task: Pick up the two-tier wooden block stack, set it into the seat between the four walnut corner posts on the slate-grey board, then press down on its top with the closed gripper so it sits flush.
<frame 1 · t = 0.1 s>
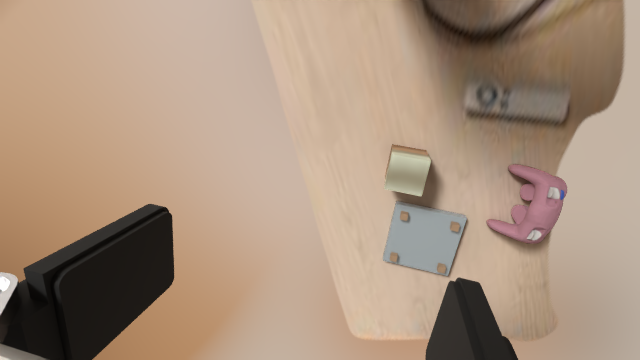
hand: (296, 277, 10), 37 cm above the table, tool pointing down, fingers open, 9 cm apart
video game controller: (516, 197, 43), on the table
block stack: (405, 163, 45), on the table
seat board: (421, 236, 48), on the table
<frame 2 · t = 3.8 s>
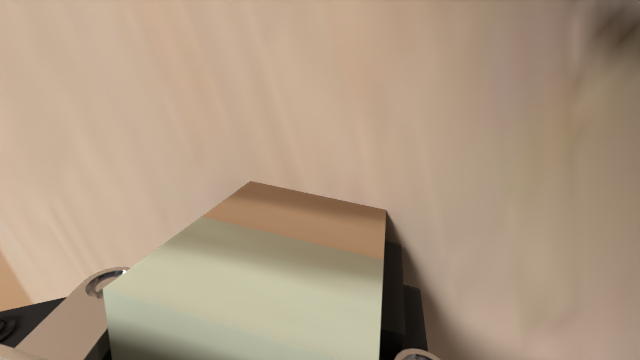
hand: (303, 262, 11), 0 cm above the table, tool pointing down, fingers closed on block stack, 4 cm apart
block stack: (307, 254, 11), on the table, touching gripper
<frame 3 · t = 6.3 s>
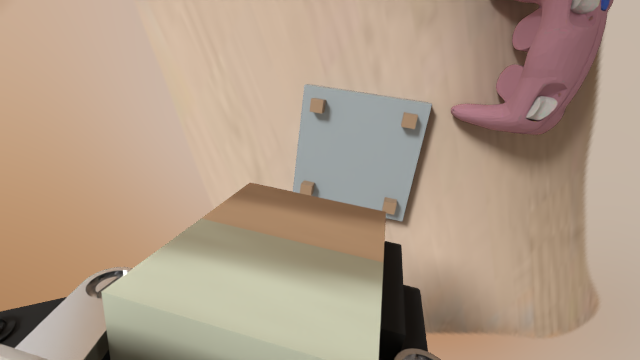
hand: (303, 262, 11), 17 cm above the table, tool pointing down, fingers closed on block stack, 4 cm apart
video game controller: (506, 58, 22), on the table
block stack: (307, 256, 11), point 17 cm above the table, touching gripper
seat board: (356, 152, 27), on the table
when the fingers open (3 cm above the table, at t = 9.2 s): block stack drops 1 cm, resting on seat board.
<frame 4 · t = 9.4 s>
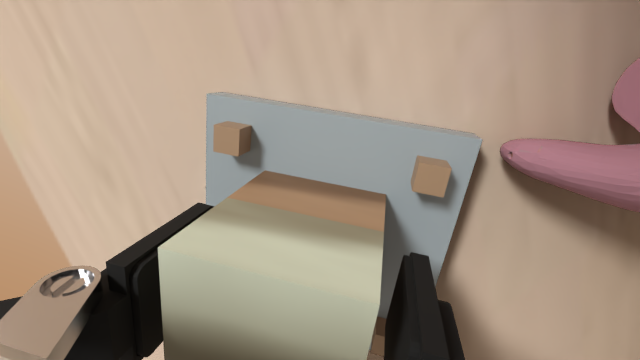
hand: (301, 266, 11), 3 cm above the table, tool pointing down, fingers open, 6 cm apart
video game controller: (636, 31, 10), on the table
block stack: (315, 236, 13), point 1 cm above the table, touching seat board
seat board: (322, 224, 14), on the table
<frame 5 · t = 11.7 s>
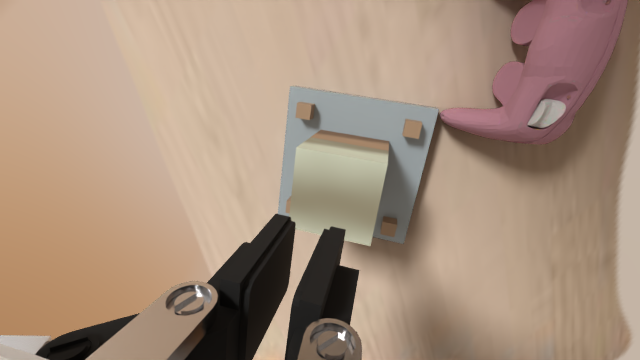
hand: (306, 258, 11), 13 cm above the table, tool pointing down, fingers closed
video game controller: (504, 54, 19), on the table
block stack: (348, 167, 22), point 1 cm above the table, touching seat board
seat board: (351, 164, 23), on the table
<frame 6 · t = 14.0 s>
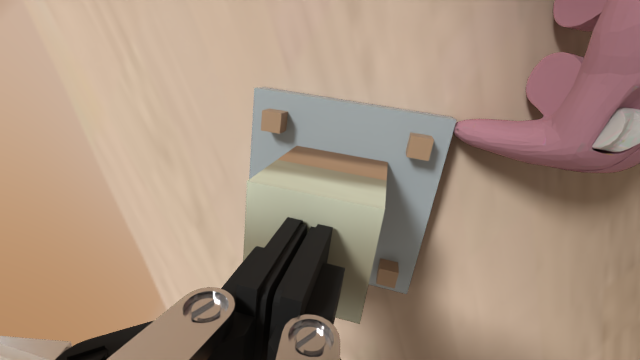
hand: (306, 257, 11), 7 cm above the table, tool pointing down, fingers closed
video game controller: (541, 43, 14), on the table
block stack: (334, 196, 17), point 1 cm above the table, touching gripper, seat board
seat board: (338, 189, 18), on the table
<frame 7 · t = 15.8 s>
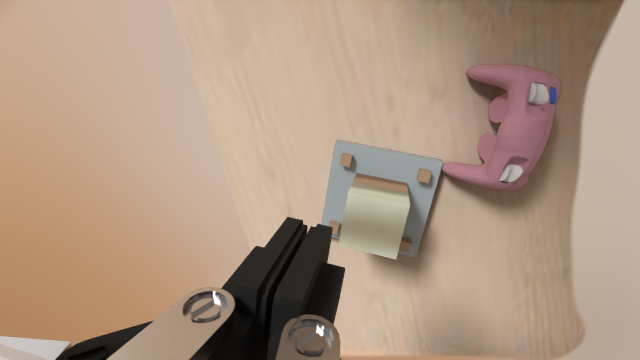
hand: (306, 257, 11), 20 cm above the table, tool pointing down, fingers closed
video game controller: (485, 125, 27), on the table
block stack: (376, 200, 30), point 1 cm above the table, touching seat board
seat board: (377, 197, 31), on the table
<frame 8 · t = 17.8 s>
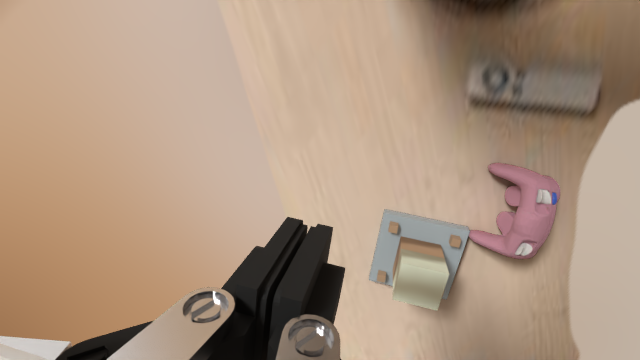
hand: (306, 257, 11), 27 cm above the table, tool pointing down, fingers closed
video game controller: (502, 202, 36), on the table
block stack: (416, 257, 38), point 1 cm above the table, touching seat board
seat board: (415, 252, 40), on the table
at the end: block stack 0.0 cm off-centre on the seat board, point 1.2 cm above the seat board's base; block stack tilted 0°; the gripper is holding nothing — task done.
